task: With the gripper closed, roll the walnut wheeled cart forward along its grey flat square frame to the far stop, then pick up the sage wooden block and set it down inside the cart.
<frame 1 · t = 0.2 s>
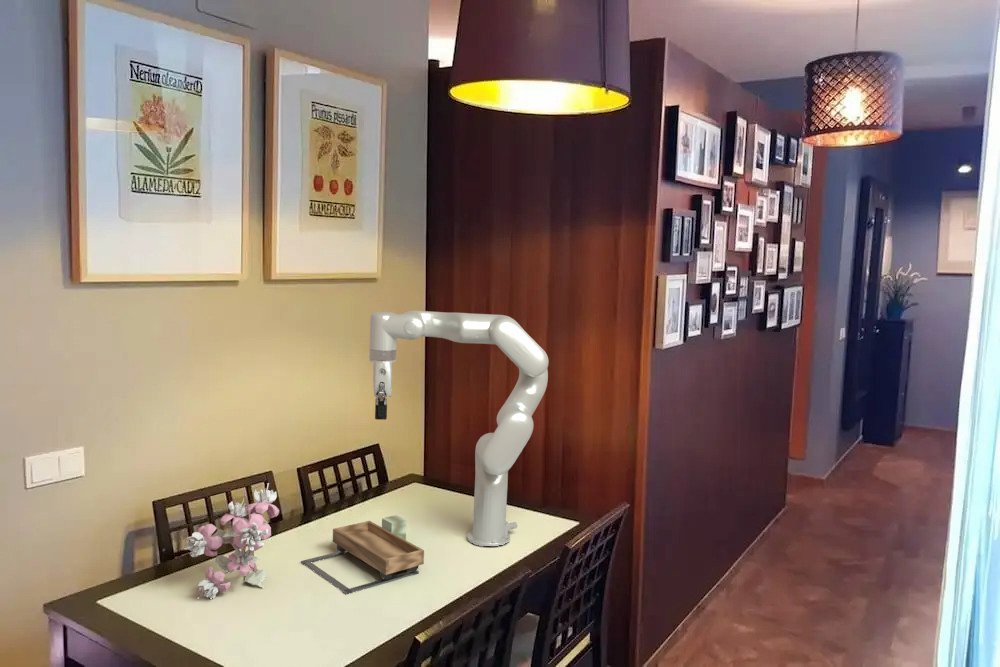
hand: (380, 415, 219), 37 cm above the table, tool pointing down, fingers open, 9 cm apart
sage block: (393, 542, 222), on the table
grey flat square frame: (376, 563, 207), on the table
flower: (231, 591, 187), on the table
cart: (376, 550, 206), point 4 cm above the table, slide at 0.0 cm
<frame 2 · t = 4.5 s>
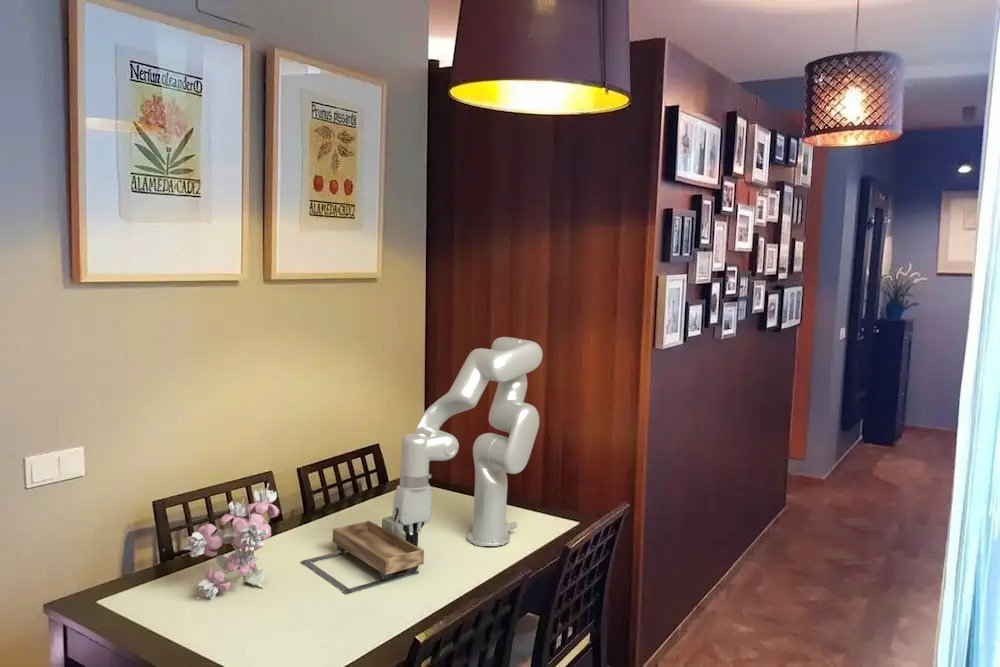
hand: (411, 546, 208), 4 cm above the table, tool pointing down, fingers closed
cart: (376, 550, 206), point 4 cm above the table, slide at 0.0 cm, touching gripper
everything else where it was.
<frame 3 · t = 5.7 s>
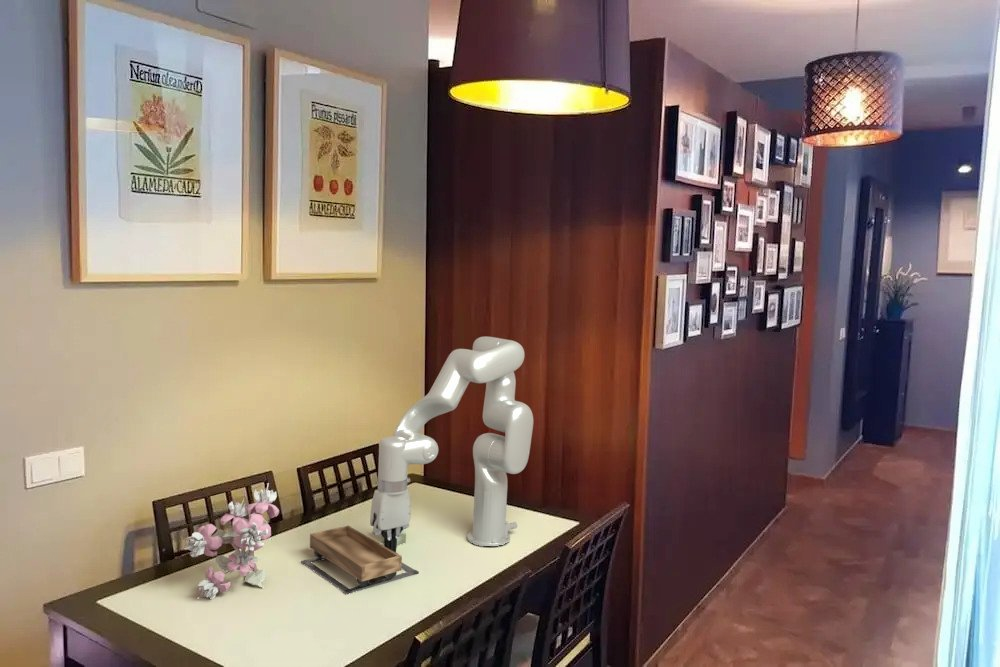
hand: (390, 552, 203), 4 cm above the table, tool pointing down, fingers closed
cart: (354, 555, 202), point 4 cm above the table, slide at 6.9 cm, touching gripper
everything else where it was.
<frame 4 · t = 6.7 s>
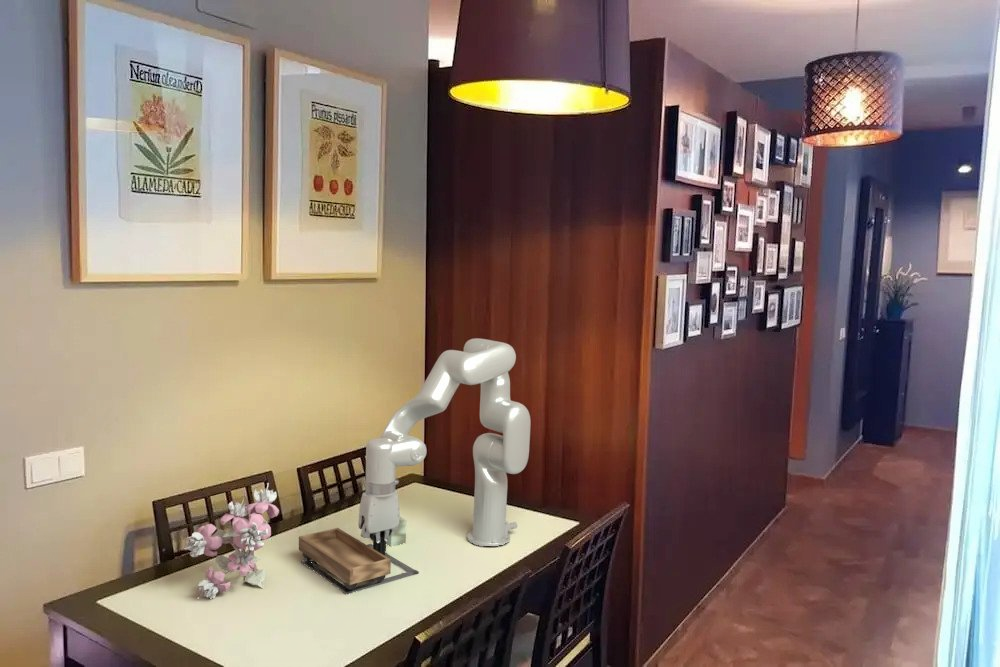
hand: (379, 555, 201), 4 cm above the table, tool pointing down, fingers closed
cart: (343, 558, 200), point 4 cm above the table, slide at 10.2 cm, touching gripper
everything else where it was.
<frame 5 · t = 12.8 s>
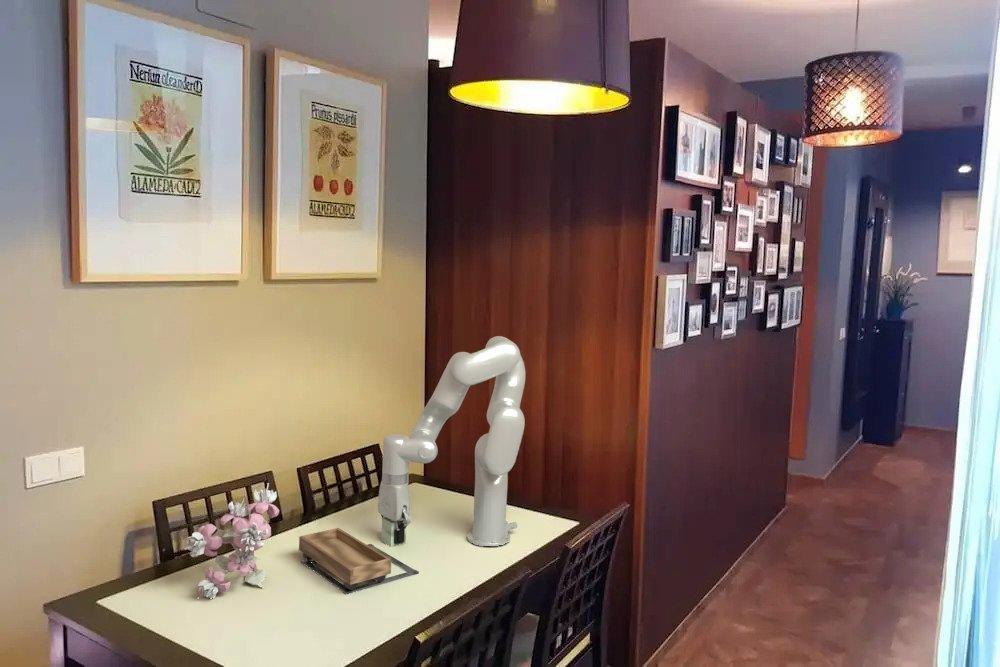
hand: (393, 539, 222), 1 cm above the table, tool pointing down, fingers closed on sage block, 5 cm apart
sage block: (393, 542, 222), on the table, touching gripper
cart: (343, 558, 200), point 4 cm above the table, slide at 10.0 cm
everything else where it was.
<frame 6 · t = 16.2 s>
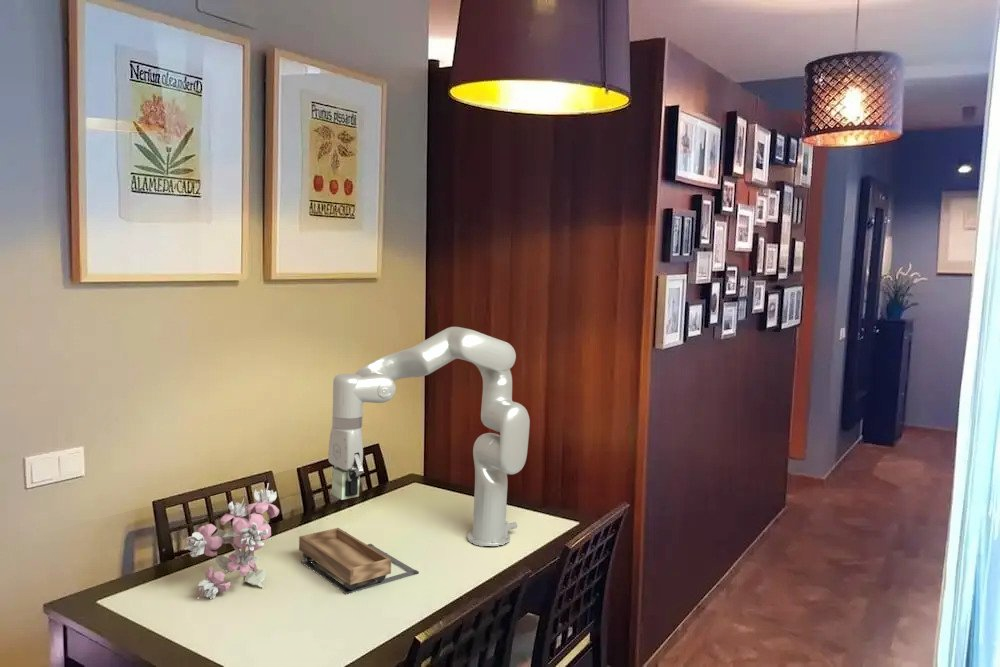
hand: (345, 491, 198), 21 cm above the table, tool pointing down, fingers closed on sage block, 5 cm apart
sage block: (345, 495, 198), point 20 cm above the table, touching gripper
everything else where it was.
when the fingers open (6 cm above the table, at t = 19.4 s): sage block drops 1 cm, resting on cart.
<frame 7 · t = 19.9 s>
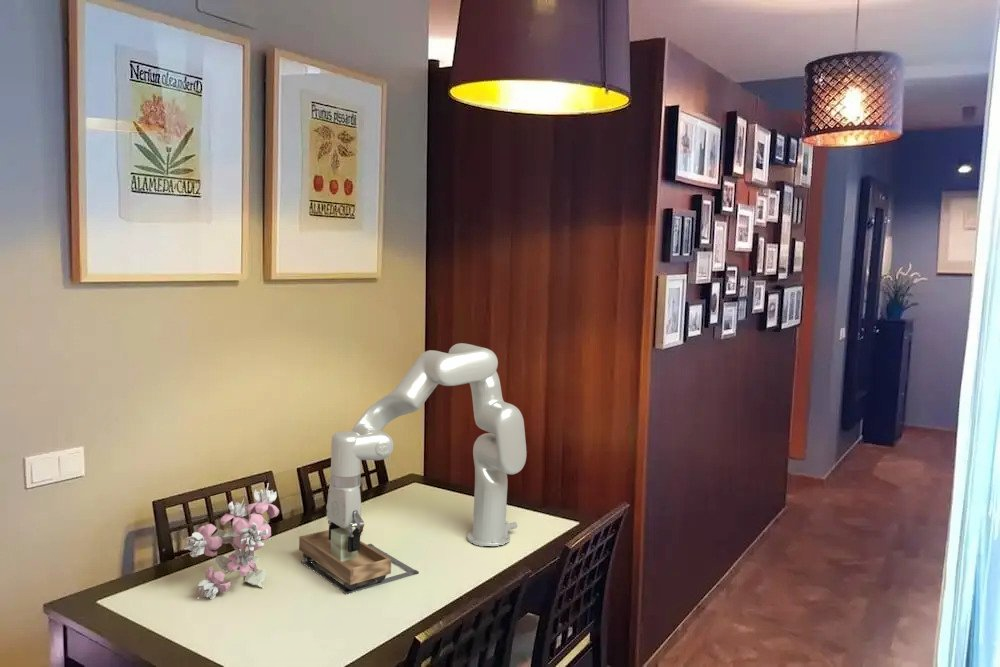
hand: (344, 544, 199), 7 cm above the table, tool pointing down, fingers open, 9 cm apart
sage block: (343, 556, 200), point 4 cm above the table, touching cart
cart: (343, 558, 200), point 4 cm above the table, slide at 10.0 cm, touching sage block
everything else where it was.
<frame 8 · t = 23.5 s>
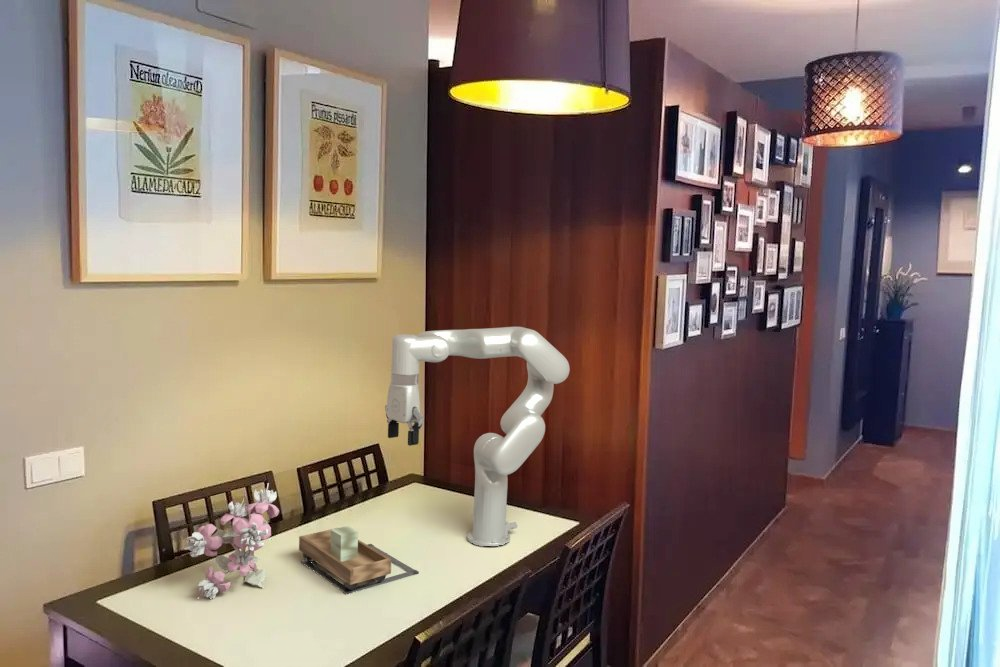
hand: (402, 441, 213), 31 cm above the table, tool pointing down, fingers open, 9 cm apart
nothing on the table moved.
at the end: cart slide at 10.0 cm; sage block inside the target area (0.0 cm from its centre), point 4.2 cm above the table; sage block tilted 0° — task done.
